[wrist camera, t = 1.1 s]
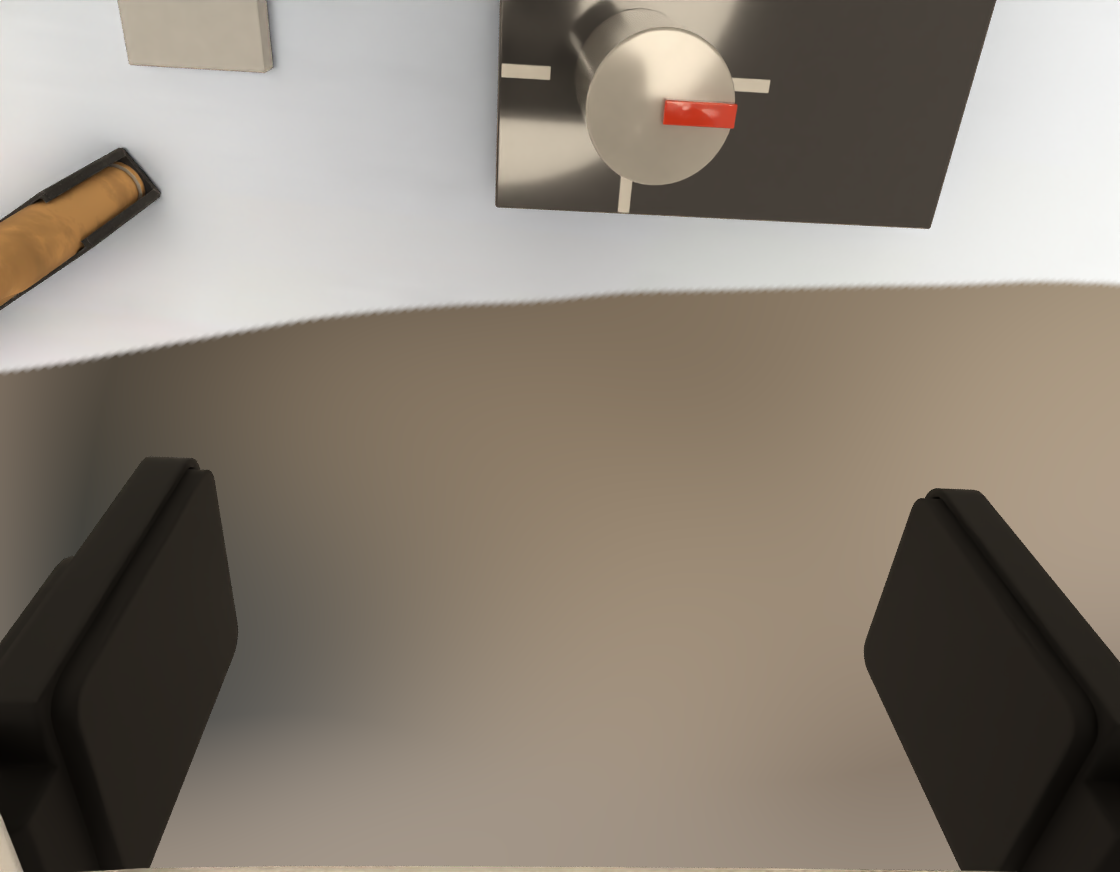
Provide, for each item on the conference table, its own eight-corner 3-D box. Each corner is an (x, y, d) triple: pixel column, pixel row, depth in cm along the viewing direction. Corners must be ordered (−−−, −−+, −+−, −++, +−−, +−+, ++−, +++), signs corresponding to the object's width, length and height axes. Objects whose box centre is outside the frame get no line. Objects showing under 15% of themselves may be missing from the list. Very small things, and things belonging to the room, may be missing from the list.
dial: (570, 139, 25) (581, 185, 21) (579, 4, 24) (593, 23, 19) (689, 145, 26) (725, 193, 21) (707, 13, 24) (750, 33, 19)
